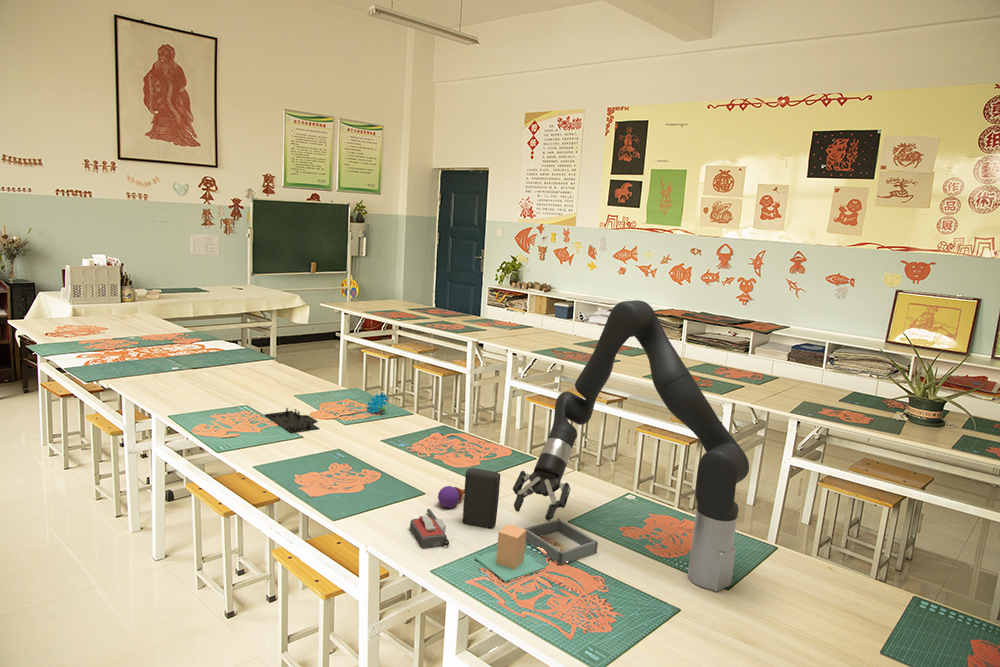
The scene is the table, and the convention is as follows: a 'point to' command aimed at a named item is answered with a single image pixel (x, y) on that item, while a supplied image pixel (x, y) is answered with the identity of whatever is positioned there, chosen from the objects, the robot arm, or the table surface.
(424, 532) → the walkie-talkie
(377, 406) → the gear
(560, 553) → the grey rectangular frame
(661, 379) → the robot arm
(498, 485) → the card reader
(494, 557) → the mat
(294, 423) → the circuit board
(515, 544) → the block
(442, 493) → the kendama
